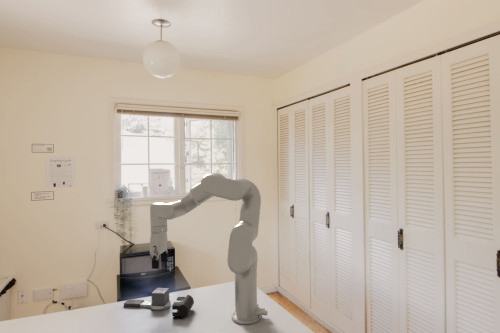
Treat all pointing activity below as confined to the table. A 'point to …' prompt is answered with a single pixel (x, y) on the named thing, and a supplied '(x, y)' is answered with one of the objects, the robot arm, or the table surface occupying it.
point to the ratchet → (145, 305)
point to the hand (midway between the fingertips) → (160, 264)
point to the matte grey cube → (160, 296)
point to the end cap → (182, 307)
